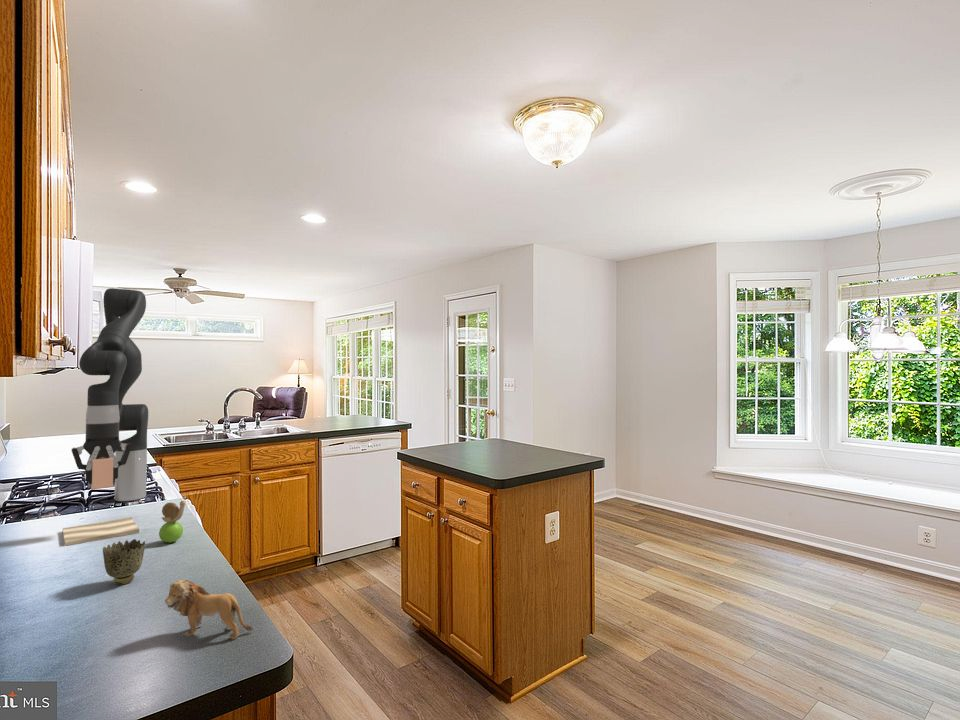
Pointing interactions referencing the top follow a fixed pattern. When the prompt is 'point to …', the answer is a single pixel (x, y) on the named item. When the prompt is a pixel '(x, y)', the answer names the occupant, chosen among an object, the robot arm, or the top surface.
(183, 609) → the lion figurine
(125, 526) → the birch board
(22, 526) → the top surface
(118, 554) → the cup
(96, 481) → the terracotta block
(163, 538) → the snail figurine
